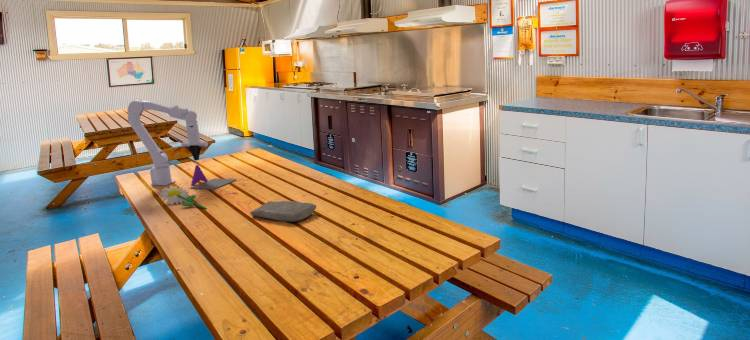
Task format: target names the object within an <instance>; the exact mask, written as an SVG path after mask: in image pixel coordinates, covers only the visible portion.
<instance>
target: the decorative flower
mask: <svg viewBox="0 0 750 340" xmlns="http://www.w3.org/2000/svg"><path fill="white" fill-rule="evenodd" d="M158 194H159V195H160V196H159V198H160V199H162V202H165V201H166V205H169V204H170V205H171V206H173V205H175V204H177V205H179V203H180V205H181V206H185V207H187V206H188V207H189V206H193V205H195V206H196V207H200V208H202V209H203V210H207V209H208V208H207V207H205V206H203V205H201V204H199V203H197V202H195V201H194V199H196V195H194V194H193V195H188V194H189V191H188V190H187V189H183V187H182V186H180V187H178V185H175V186H174V187H173V186H172V185H170V186H169V187H164V188H163V189H161V192H159V193H158Z"/></svg>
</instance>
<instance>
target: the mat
mask: <svg viewBox="0 0 750 340" xmlns="http://www.w3.org/2000/svg"><path fill="white" fill-rule="evenodd" d="M237 180H238V179H236V178H211V179H209V180H208V181H203V182H202V183H199V184H195V185H194V186H191V187H190V189H191V190H193V189H194V190H195V189H196V190H209V191H212V190H213V191H215V190H216V189H217V190H218V189H219V188H221V187H224V186H226V185H228V184H231V183H233V182H236V181H237Z"/></svg>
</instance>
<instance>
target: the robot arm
mask: <svg viewBox="0 0 750 340" xmlns="http://www.w3.org/2000/svg"><path fill="white" fill-rule="evenodd" d="M126 110H127V121H128V124H129V125H130V127H131V128H132V130H133V131H134V133H135V134H136V136H137V137H138V138H139V140H140V141H141V143H142V144H143V145H144V147H145V148H146V150H147V151H148V153H149V157H150V158H151V159H152V164H153V165H154V166H152V167H151V168H150V170H149V171H150V172H149V174H150V181H151V183H150V185H151V186H167V185H171V184H173V183H175V182H176V180H172V173H171V169H170V167H171V166H170V164H169V163H168V161H169V155H168V154H167V153H166V152H164V151H163V150H162V149H161V148H160V147H159V146H158V145H157V143H156V142H155V140H154V139H153V138H152V135H150V133H149V131H148V130H147V129H146V127H145V126H144V124H143V123H142V121H141V117H142V114H143V112H146V111H151V110H152V111H157V112H160V113H163V114H168V116H169V117H170V118H174V119H177V120H182V121H185V128H186V135H187V142H186V141H184V142H181V143H180V145H181V147H188V148H187V150H189V152H190V154H191V155H192V157H193V160H194V161H199V160H200V154H201V152H202V148H203V147H208V146H209V142H208V141H201V139H200V137H201V136H200V132H199V125H198V120H197V117H198V115H197V112H195V110H192V109H188V108H187V107H186V108H182V107H180V106H179V105H172V106H167V105H162V104H159V103H157V102H155V101H154V102H153V101H149V100H145V99H143V100H142V99H134V100H132V101H131V102H129V104H128V106H127V109H126Z"/></svg>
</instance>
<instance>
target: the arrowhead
mask: <svg viewBox="0 0 750 340" xmlns="http://www.w3.org/2000/svg"><path fill="white" fill-rule="evenodd" d="M192 175H193V176H192V180H191V184H190V186H191V187H194V186H196V185H197V184H198V183H199V182H200V181H203V182H206V181H209V180H208V179H207V177H206V175H205V174H204V172H203V171H202V169H201V167H200V166H199V164H196V165H195V167H194V172H193V174H192Z"/></svg>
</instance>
